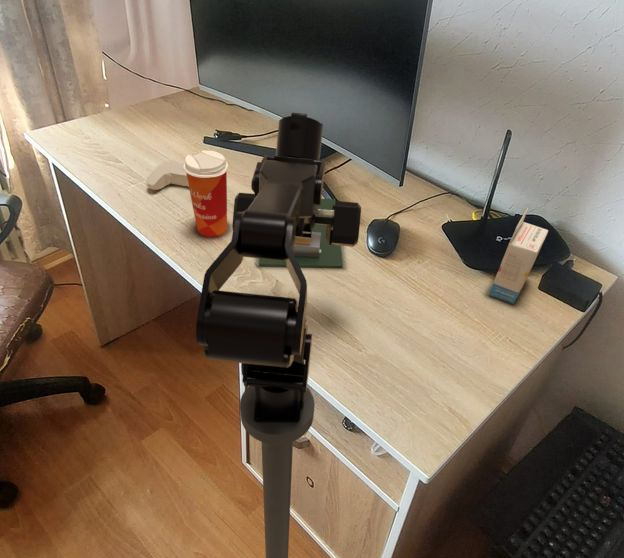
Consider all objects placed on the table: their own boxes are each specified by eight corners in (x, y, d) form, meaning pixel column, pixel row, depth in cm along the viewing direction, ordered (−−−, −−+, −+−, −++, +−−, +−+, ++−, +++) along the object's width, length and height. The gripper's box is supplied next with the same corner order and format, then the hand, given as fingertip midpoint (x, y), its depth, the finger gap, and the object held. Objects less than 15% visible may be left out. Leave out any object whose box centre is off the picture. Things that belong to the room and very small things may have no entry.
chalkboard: (342, 268, 100) (342, 265, 100) (259, 266, 99) (259, 263, 99) (335, 201, 116) (335, 198, 116) (263, 199, 116) (263, 196, 115)
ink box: (514, 305, 95) (544, 237, 84) (487, 295, 97) (514, 227, 86) (526, 281, 100) (556, 214, 90) (500, 271, 102) (527, 205, 91)
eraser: (318, 258, 101) (323, 195, 91) (282, 255, 101) (283, 192, 91) (320, 243, 104) (324, 181, 94) (285, 240, 104) (286, 178, 94)
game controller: (140, 180, 112) (158, 151, 117) (146, 196, 116) (163, 167, 121) (203, 192, 110) (219, 161, 115) (207, 207, 114) (222, 177, 119)
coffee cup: (184, 226, 107) (173, 156, 96) (217, 213, 111) (211, 144, 100) (207, 245, 103) (199, 175, 92) (241, 231, 107) (237, 161, 96)
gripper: (368, 153, 70) (360, 186, 86) (230, 142, 70) (247, 177, 86) (361, 236, 70) (353, 254, 86) (223, 224, 71) (241, 244, 86)
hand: (299, 231), depth 86 cm, fingers open, 9 cm apart
